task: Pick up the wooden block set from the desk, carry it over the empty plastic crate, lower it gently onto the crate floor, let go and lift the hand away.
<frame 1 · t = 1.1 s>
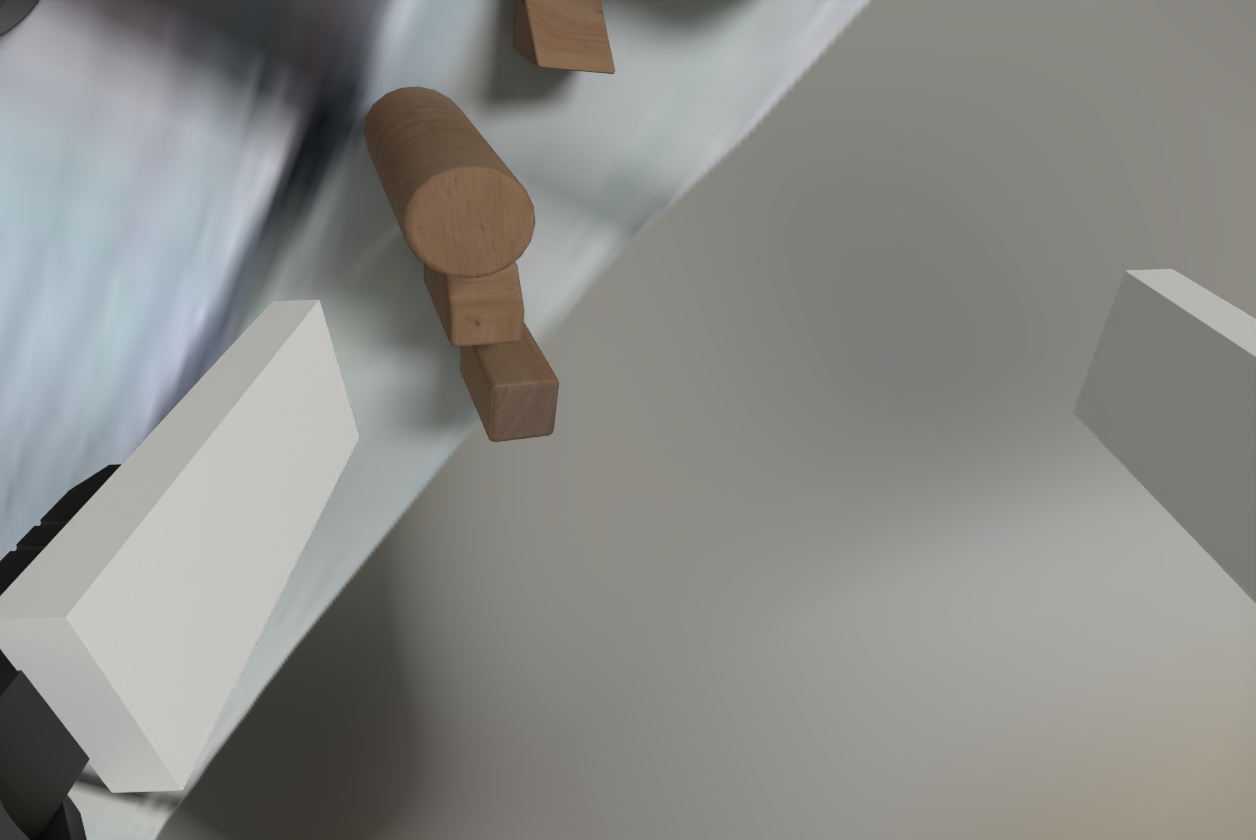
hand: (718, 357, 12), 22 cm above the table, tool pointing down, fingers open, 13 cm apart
wooden block set: (492, 191, 33), on the table
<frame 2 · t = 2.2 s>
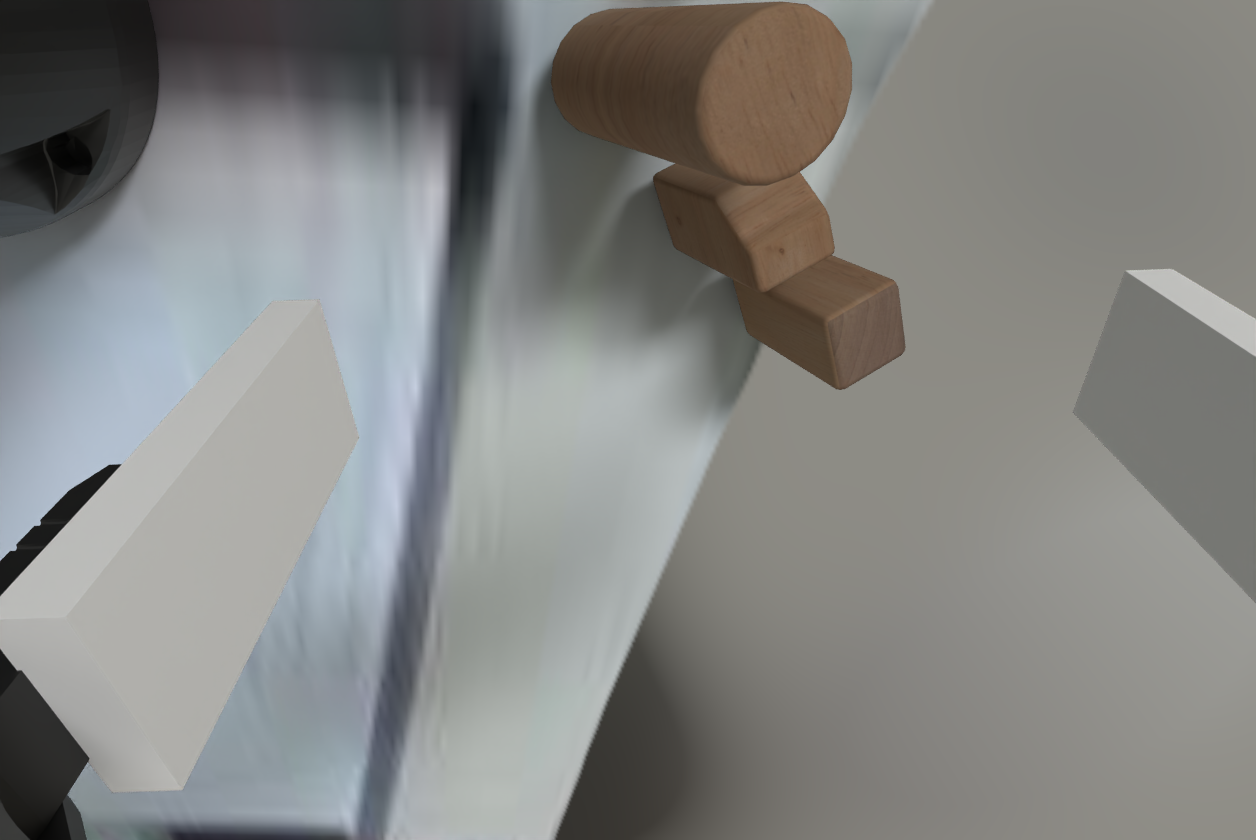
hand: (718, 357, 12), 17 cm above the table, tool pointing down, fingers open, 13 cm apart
wooden block set: (709, 104, 26), on the table
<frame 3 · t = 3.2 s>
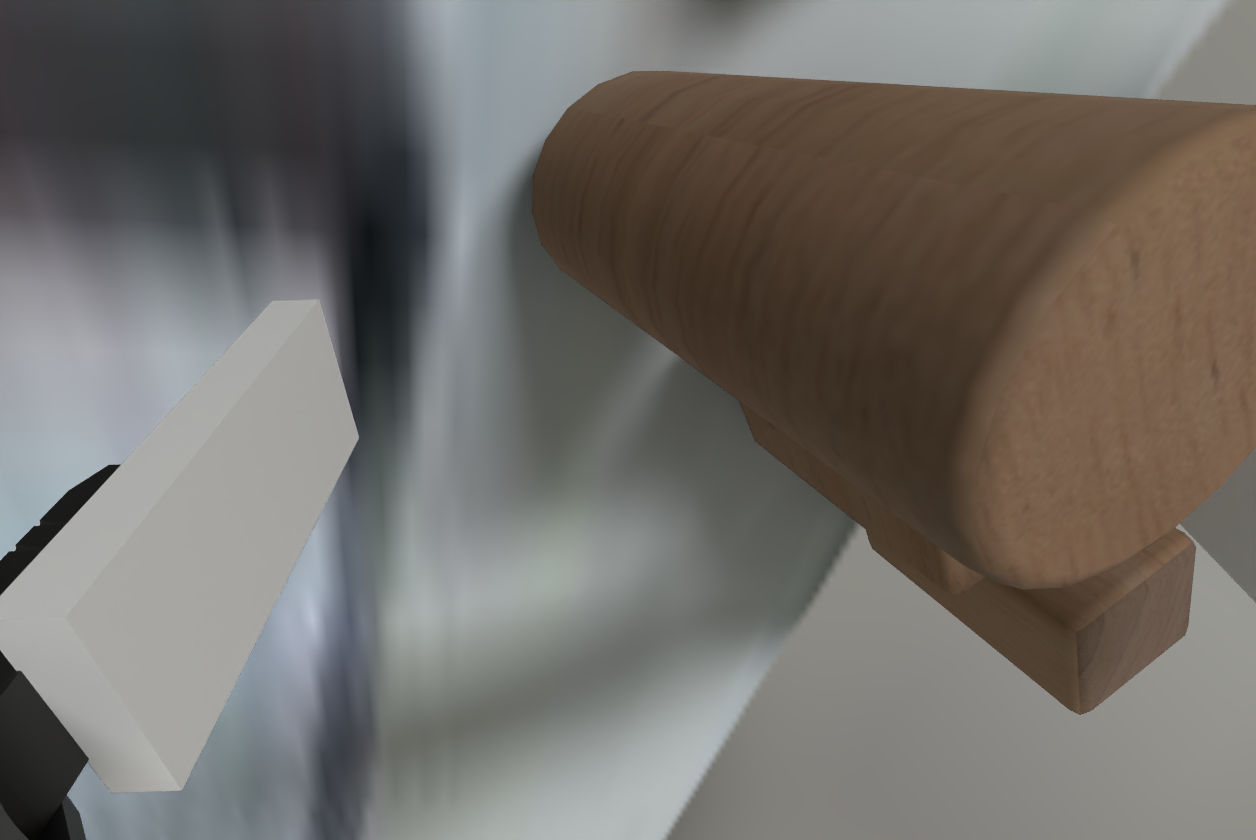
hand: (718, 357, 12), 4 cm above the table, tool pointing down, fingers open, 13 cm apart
wooden block set: (808, 211, 15), on the table
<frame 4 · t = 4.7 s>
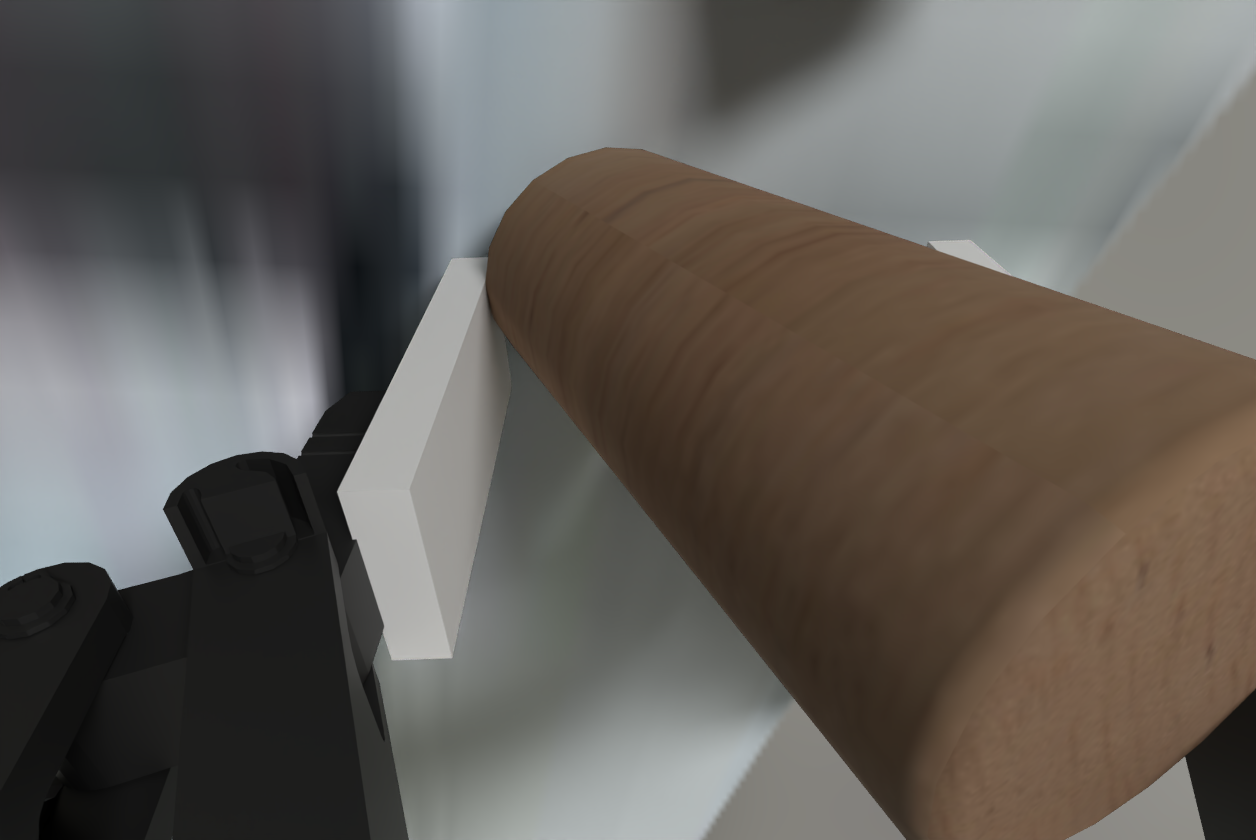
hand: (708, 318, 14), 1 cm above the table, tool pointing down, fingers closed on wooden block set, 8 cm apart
wooden block set: (780, 300, 15), on the table, touching gripper
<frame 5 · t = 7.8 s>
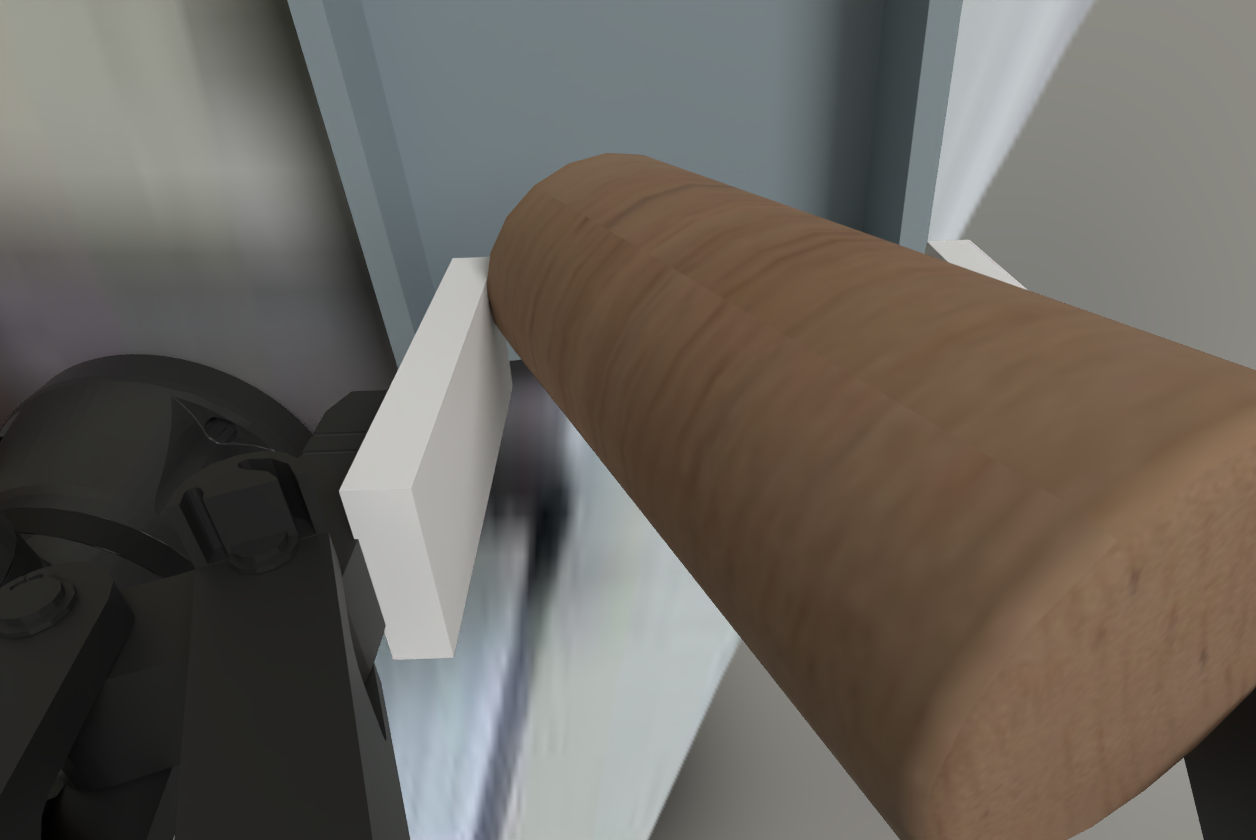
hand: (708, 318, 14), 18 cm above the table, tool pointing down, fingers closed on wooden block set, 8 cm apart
wooden block set: (780, 304, 15), point 16 cm above the table, touching gripper
when the fingers open (3 cm above the table, at t = 11.4 s): wooden block set stays where it is, resting on crate.
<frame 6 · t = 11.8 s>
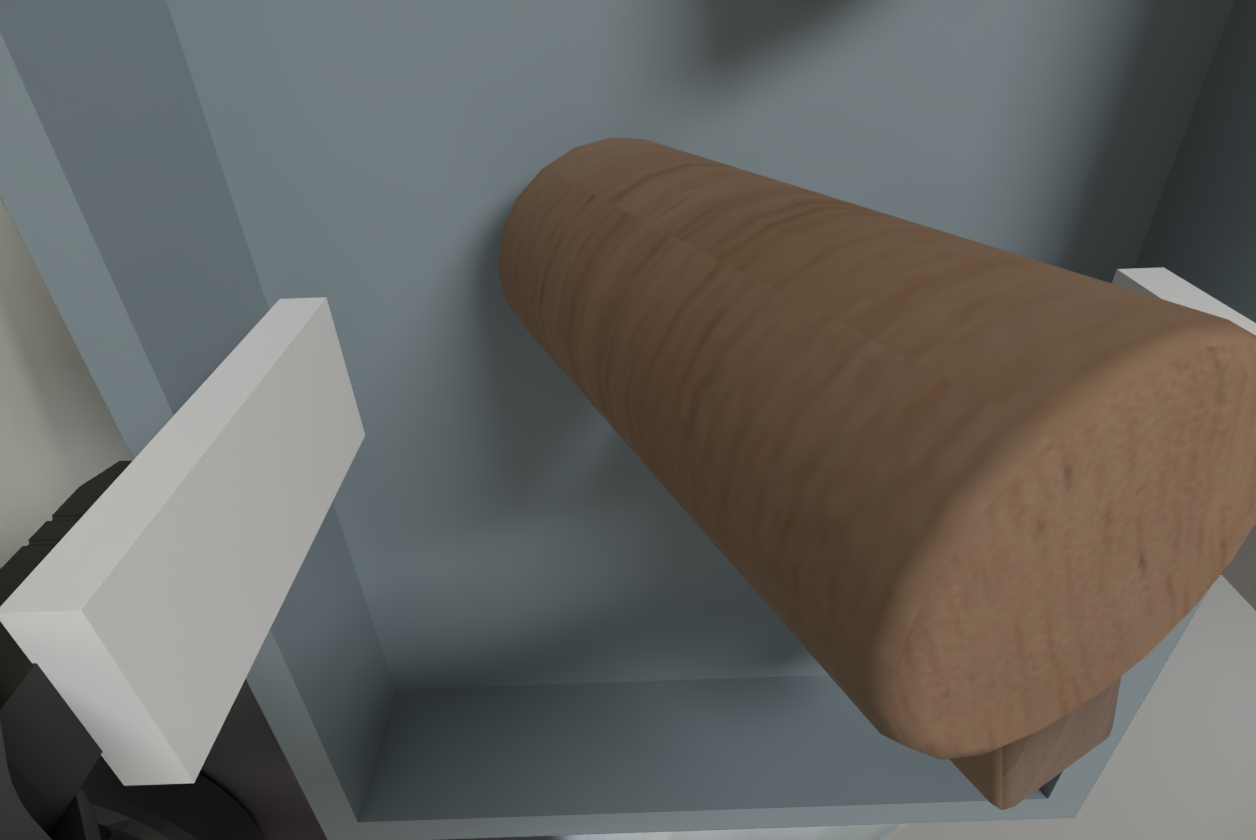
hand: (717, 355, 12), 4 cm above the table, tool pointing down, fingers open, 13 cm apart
wooden block set: (777, 284, 15), point 1 cm above the table, touching crate
crate: (694, 264, 16), on the table
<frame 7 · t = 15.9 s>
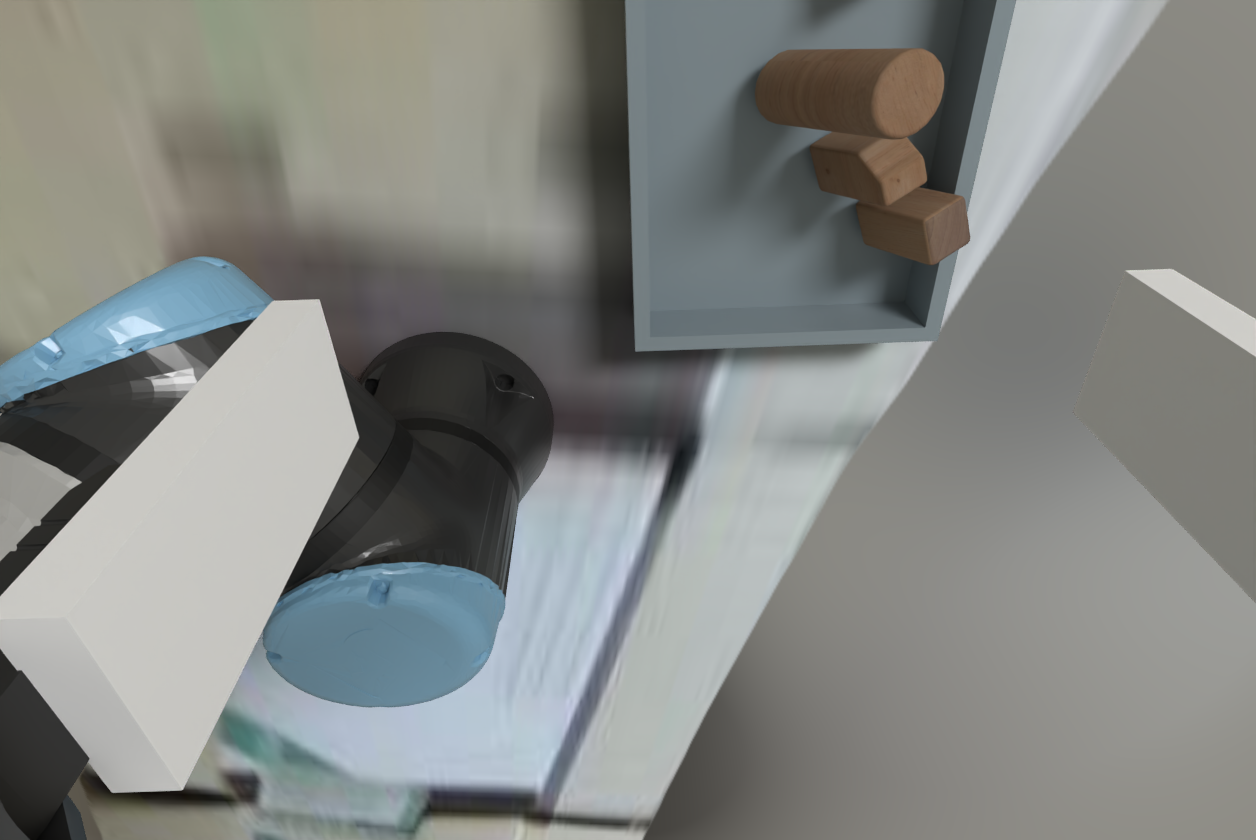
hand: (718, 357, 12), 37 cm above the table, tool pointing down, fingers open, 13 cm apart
wooden block set: (841, 100, 44), point 1 cm above the table, touching crate
crate: (790, 104, 45), on the table
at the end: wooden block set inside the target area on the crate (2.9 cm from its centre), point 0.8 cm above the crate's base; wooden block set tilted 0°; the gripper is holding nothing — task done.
